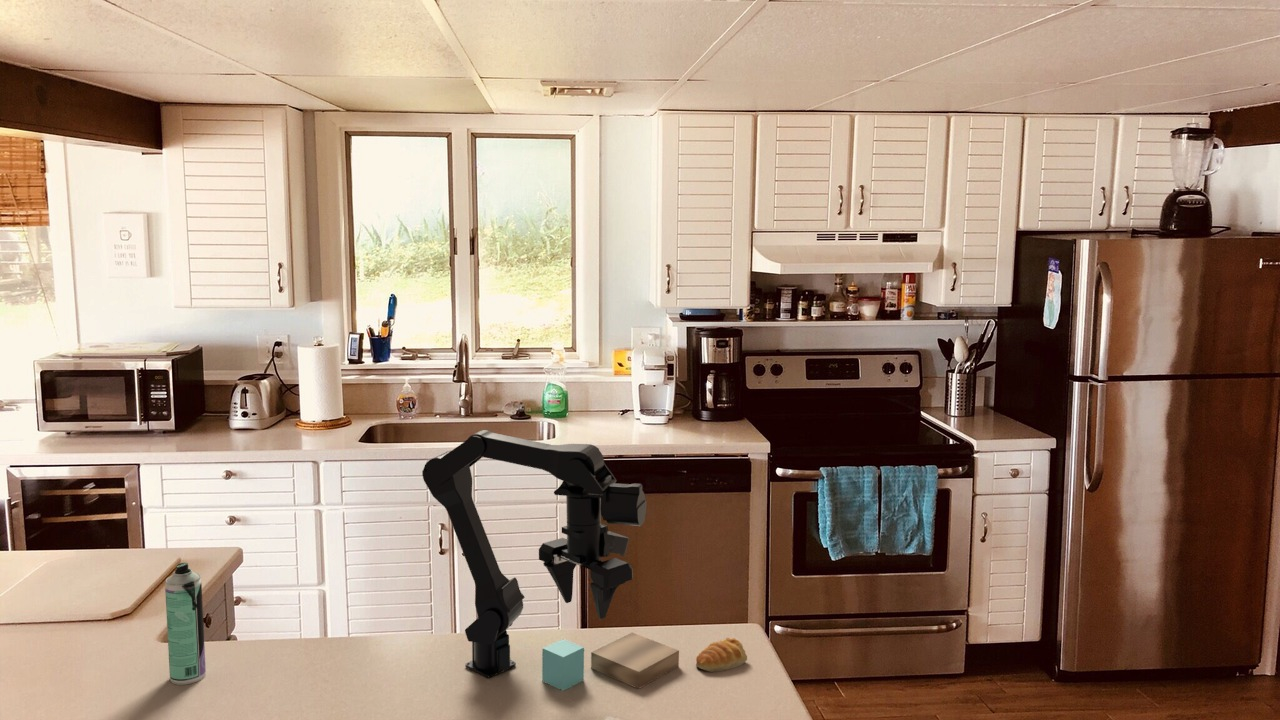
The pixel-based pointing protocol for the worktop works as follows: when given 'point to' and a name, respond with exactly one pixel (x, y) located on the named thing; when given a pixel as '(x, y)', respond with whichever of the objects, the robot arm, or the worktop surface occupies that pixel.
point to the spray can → (185, 626)
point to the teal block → (563, 664)
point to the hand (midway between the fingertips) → (584, 610)
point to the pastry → (722, 655)
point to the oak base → (635, 660)
